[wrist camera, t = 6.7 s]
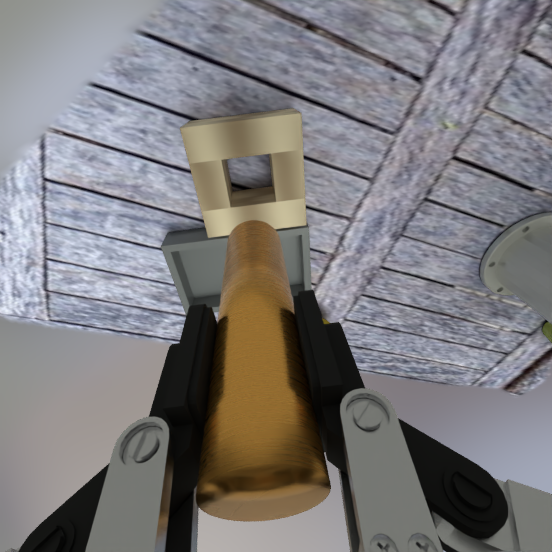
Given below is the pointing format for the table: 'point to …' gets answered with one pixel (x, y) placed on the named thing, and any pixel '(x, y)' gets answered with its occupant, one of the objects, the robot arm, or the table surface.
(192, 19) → the table surface
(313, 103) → the table surface
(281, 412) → the pin
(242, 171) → the table surface
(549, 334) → the plant pot
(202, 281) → the tray
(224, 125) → the pin block
